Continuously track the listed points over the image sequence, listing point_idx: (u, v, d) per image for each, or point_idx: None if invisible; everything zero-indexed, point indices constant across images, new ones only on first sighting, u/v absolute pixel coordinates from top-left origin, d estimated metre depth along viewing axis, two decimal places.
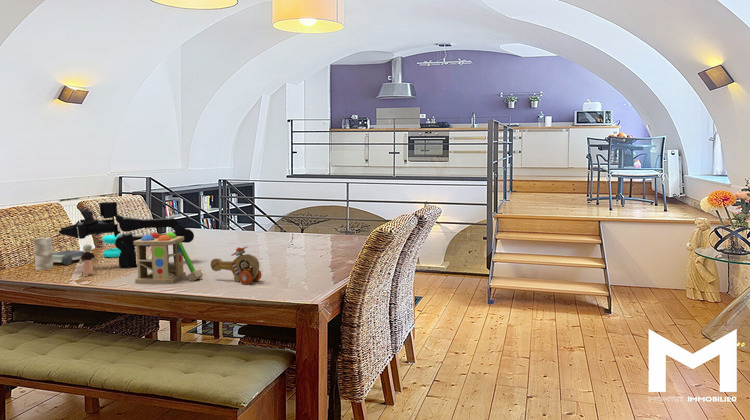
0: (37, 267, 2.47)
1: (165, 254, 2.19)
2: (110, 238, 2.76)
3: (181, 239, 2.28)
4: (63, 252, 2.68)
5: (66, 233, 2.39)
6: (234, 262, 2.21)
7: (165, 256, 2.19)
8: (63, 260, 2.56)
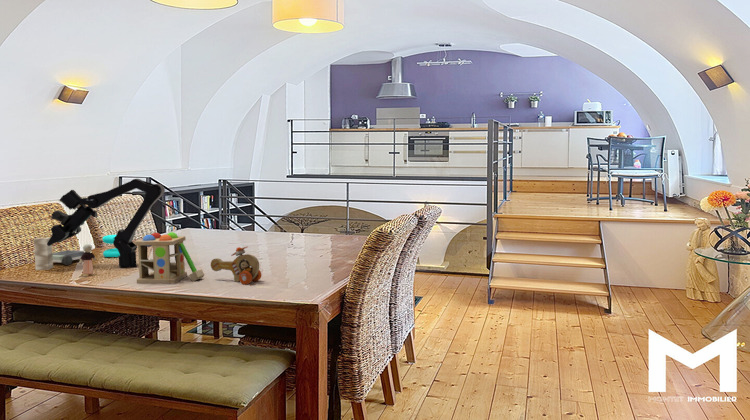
0: (37, 267, 2.47)
1: (166, 254, 2.19)
2: (110, 238, 2.76)
3: (182, 239, 2.28)
4: (63, 252, 2.68)
5: (53, 242, 2.44)
6: (234, 262, 2.21)
7: (166, 256, 2.19)
8: (63, 260, 2.56)
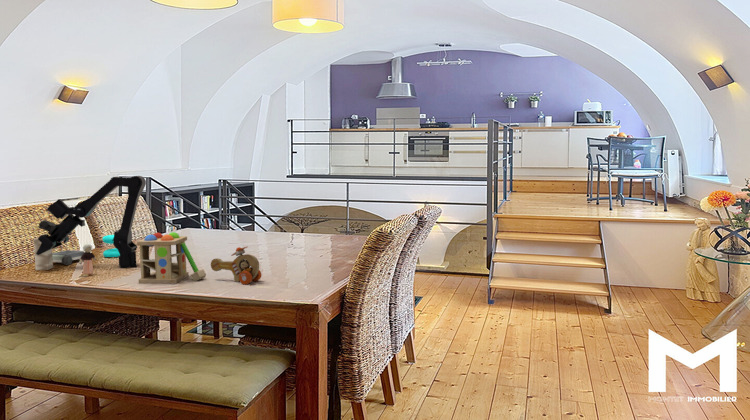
0: (37, 267, 2.47)
1: (168, 254, 2.18)
2: (110, 238, 2.76)
3: (184, 239, 2.28)
4: (63, 252, 2.68)
5: (42, 251, 2.45)
6: (234, 262, 2.21)
7: (168, 256, 2.18)
8: (63, 260, 2.56)
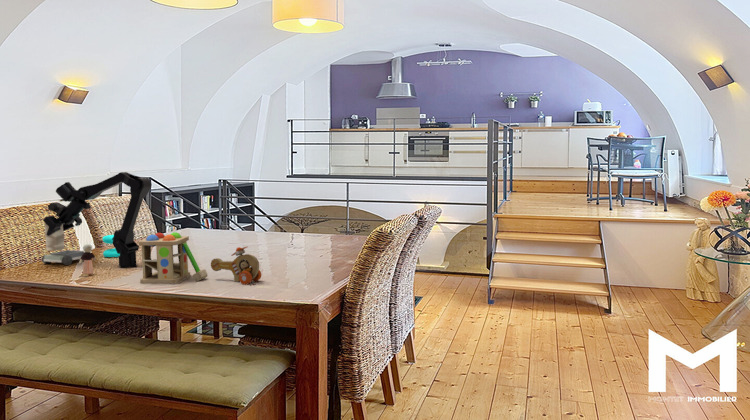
0: (47, 247, 2.56)
1: (170, 254, 2.18)
2: (110, 238, 2.76)
3: (186, 239, 2.28)
4: (63, 252, 2.68)
5: (50, 232, 2.54)
6: (234, 262, 2.21)
7: (170, 256, 2.18)
8: (63, 260, 2.56)
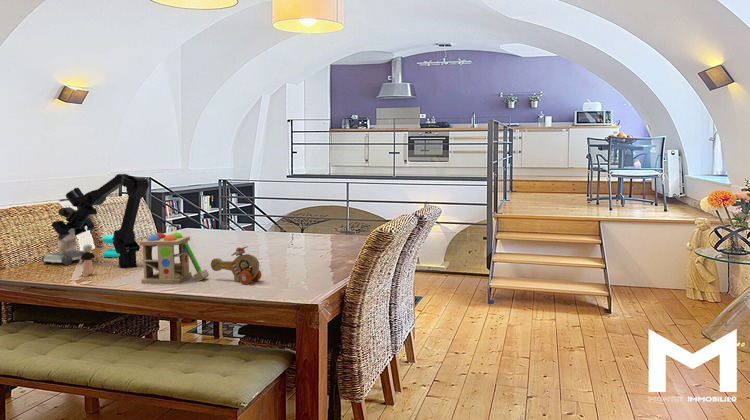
0: (59, 251, 2.63)
1: (171, 254, 2.18)
2: (110, 238, 2.76)
3: (187, 239, 2.28)
4: None
5: (61, 236, 2.60)
6: (234, 262, 2.21)
7: (171, 256, 2.18)
8: (63, 260, 2.56)
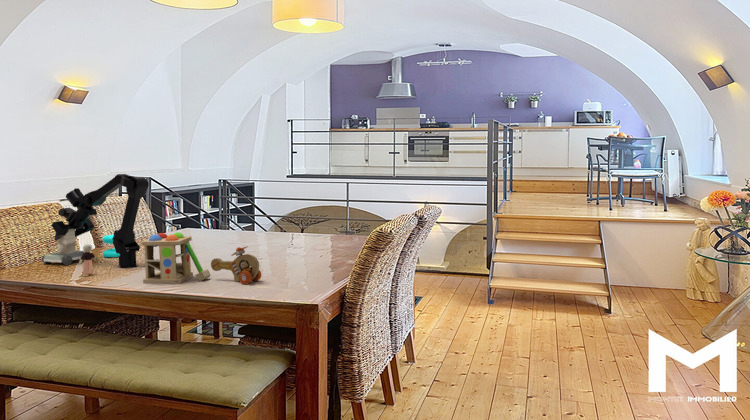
0: None
1: (173, 254, 2.18)
2: (110, 238, 2.76)
3: (188, 239, 2.28)
4: None
5: (57, 237, 2.59)
6: (234, 262, 2.21)
7: (173, 256, 2.18)
8: (63, 260, 2.56)
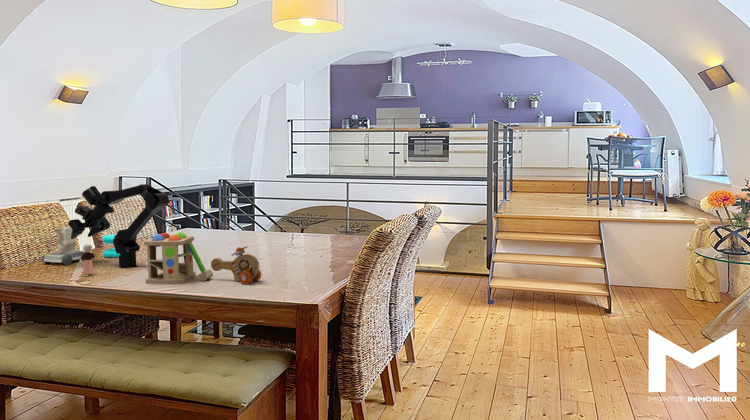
0: None
1: (176, 254, 2.18)
2: (110, 238, 2.76)
3: (191, 239, 2.28)
4: None
5: (73, 235, 2.55)
6: (234, 262, 2.21)
7: (176, 256, 2.18)
8: (63, 260, 2.56)
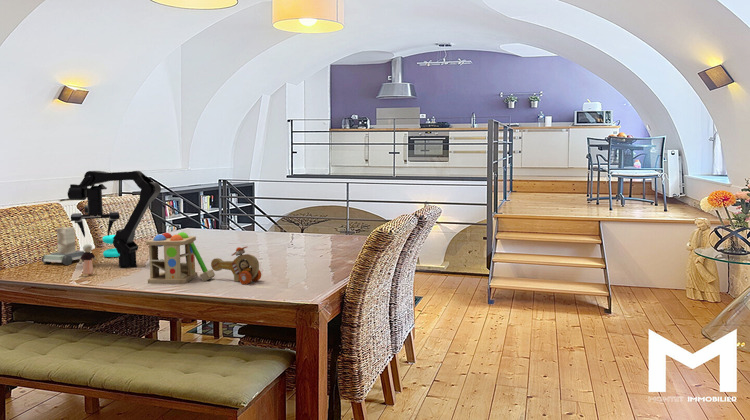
0: None
1: (178, 254, 2.18)
2: (110, 238, 2.76)
3: (193, 239, 2.28)
4: None
5: None
6: (234, 262, 2.21)
7: (178, 256, 2.18)
8: (63, 260, 2.56)
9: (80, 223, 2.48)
